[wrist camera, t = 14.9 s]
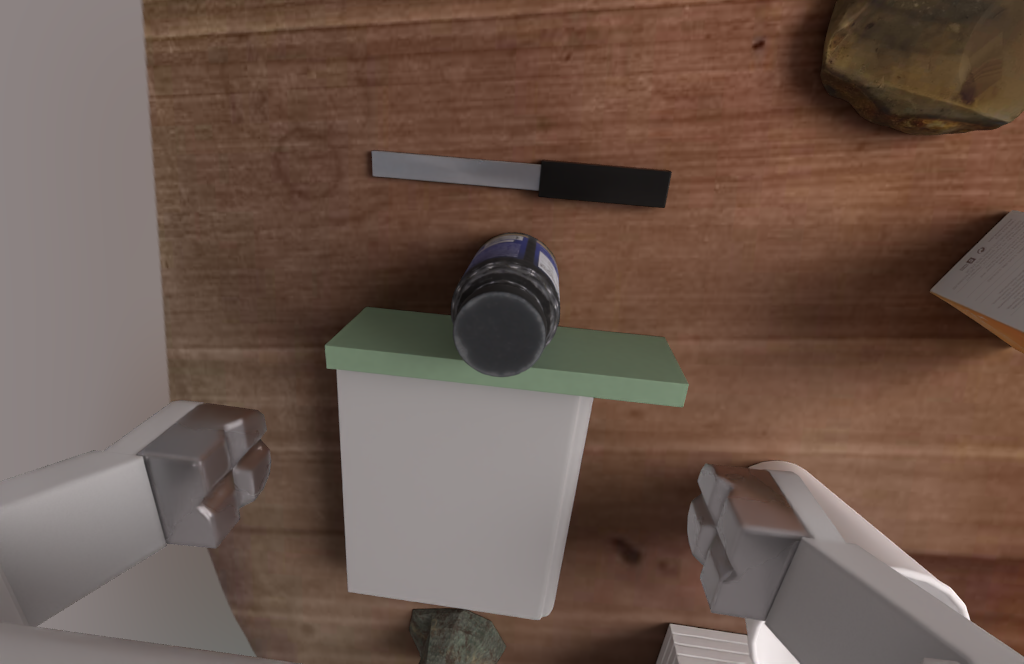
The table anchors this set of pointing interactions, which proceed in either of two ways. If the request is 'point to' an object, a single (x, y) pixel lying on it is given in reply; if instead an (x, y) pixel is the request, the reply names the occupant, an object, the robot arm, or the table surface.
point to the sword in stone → (455, 637)
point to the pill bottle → (506, 305)
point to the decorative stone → (928, 63)
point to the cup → (763, 645)
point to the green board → (560, 369)
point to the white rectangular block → (458, 490)
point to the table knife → (533, 177)
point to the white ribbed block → (703, 647)
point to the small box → (992, 281)
